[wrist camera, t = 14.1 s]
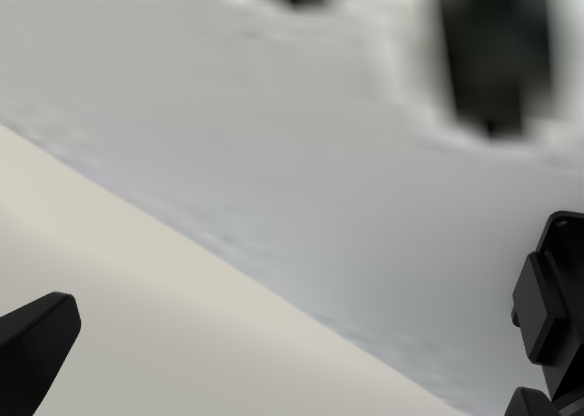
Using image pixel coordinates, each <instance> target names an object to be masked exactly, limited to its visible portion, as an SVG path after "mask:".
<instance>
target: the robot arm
mask: <svg viewBox="0 0 584 416" xmlns="http://www.w3.org/2000/svg"><path fill="white" fill-rule="evenodd" d="M560 221H567V222H566V224H564V225H562V226H558V225H557V223H558V222H560ZM513 300H514V304H515V305H514V307H513V310H512V313H511V317H512V322H513V324H514V325H515V326H517V327H520V329H521V333H522V337H523V341H524V345H525V349H526V353H527V357H528V359H529V360H530V361H531V363H532V364H537V365H541V366H542V369H543V373H544V377H545V380H546V384H547V388H548V391H549V395H550V399H551V401H550V400H549V399H548V397H547V396H546V395H545V394H544V393H543V392H542V391H540V390H536V389H531V388H526V387H518V388H517V389H516V390H515V392H514V394H513V396H512V399H511V401H510V403H509V405H508V407H507V410H506V412H505V415H504V416H584V214H583V213H576V212H569V211H558V212H555V213H553V214H552V215H550V217H549V218H548V220H547V223H546V226H545V228H544V231H543V233H542V236H541V238H540V241H539V243H538V246H537V249H536V251H533V252H532V253H530V254H529V255H528V256H527V258H526V261H525V263H524V266H523V269H522V271H521V274H520V277H519V279H518V282H517V284H516V287H515V290H514V292H513ZM80 329H81V319H80V315H79V312H78V308H77V304H76V300H75V298H74V297H73V296H72V295H71V294H67V293H62V292H52V293H49V294H47V295H45V296H43V297H41V298H39V299H37V300H35V301H33V302H31V303H29V304H27V305H24V306H22V307H20V308H18V309H16V310H14V311H12V312H10V313H8V314H6V315H4V316H2V317H0V416H33V414H34V413H35V411H36V410H37V408H38V406H39V405H40V404H41V402H42V400H43V399H44V397H45V395H46V394H47V392H48V390H49V389H50V387H51V385H52V383H53V381H54V379H55V377H56V376H57V374H58V372H59V370H60V368H61V366H62V364H63V362H64V361H65V358H66V357H67V355H68V353H69V351H70V349H71V347H72V346H73V344H74V342H75V340H76V338H77V336H78V334H79V332H80ZM551 402H552V403H551Z"/></svg>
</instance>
